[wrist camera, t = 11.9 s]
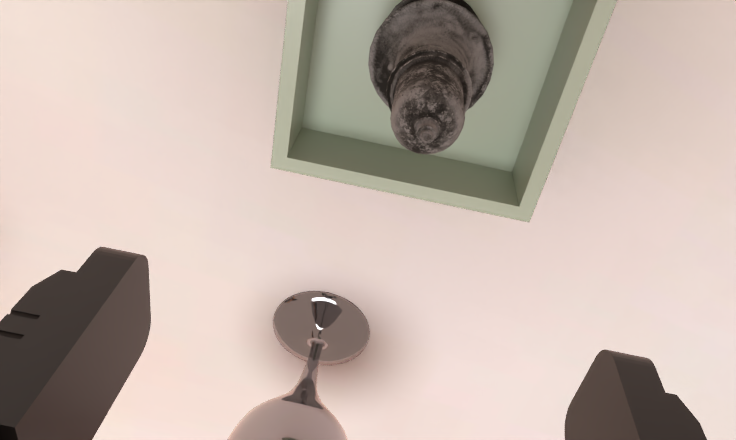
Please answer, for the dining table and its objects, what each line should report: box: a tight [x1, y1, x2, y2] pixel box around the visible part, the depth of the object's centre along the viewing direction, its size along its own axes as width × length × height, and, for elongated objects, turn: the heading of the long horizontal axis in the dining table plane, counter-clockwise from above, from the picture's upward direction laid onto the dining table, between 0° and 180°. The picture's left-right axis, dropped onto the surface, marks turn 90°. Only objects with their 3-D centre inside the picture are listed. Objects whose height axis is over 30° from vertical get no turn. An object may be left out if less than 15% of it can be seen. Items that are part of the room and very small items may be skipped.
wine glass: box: [227, 291, 370, 440], centre depth 37 cm, size 8×8×15 cm
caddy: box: [271, 0, 617, 222], centre depth 30 cm, size 14×14×4 cm
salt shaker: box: [368, 0, 494, 155], centre depth 26 cm, size 6×6×12 cm
